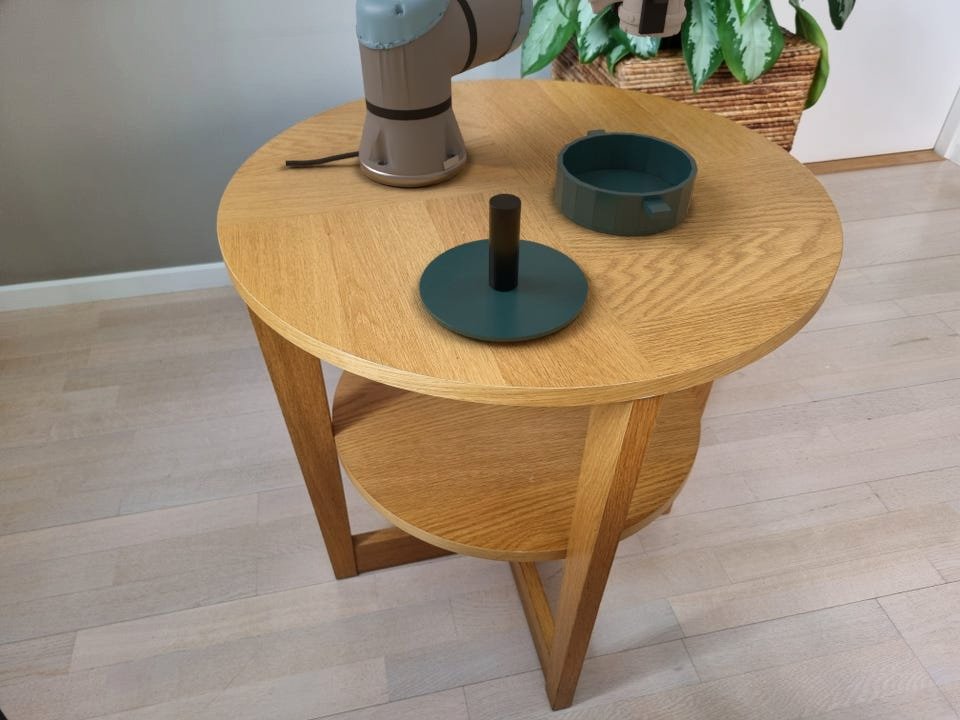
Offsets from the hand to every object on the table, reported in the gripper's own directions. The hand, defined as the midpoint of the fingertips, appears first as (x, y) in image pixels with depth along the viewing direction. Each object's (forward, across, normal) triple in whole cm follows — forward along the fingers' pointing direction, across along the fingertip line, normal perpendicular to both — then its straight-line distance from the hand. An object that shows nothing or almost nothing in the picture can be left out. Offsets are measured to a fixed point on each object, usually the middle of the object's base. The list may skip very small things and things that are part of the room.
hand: (636, 21), depth 81 cm
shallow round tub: (+21, -4, +1) cm, 21 cm away
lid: (+20, -20, +21) cm, 35 cm away
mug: (+1, +1, 0) cm, 1 cm away
